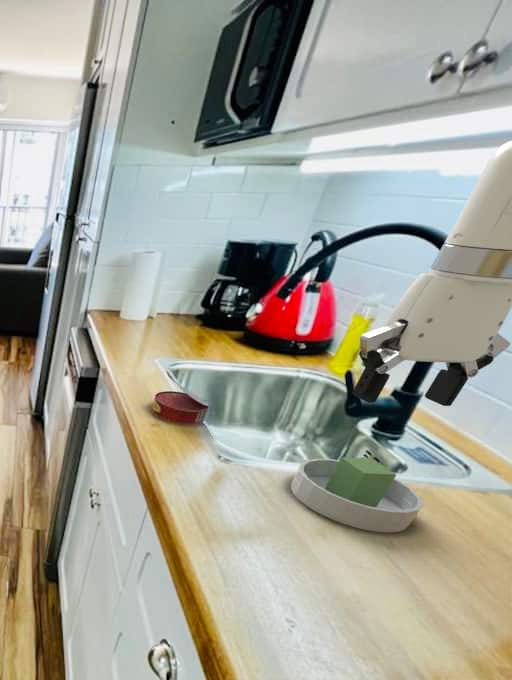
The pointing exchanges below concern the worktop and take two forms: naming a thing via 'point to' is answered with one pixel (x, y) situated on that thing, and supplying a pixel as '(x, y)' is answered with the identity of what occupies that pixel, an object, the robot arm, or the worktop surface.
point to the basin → (386, 517)
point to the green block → (360, 481)
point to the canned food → (180, 406)
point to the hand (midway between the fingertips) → (399, 400)
